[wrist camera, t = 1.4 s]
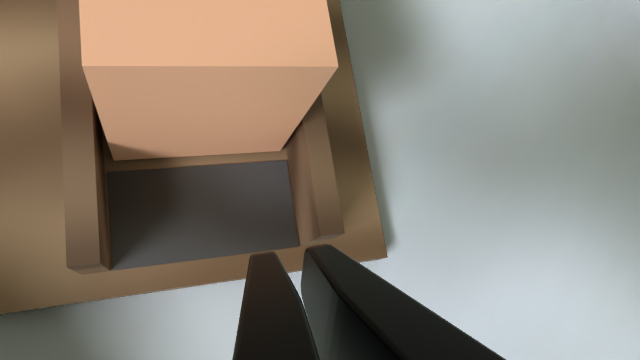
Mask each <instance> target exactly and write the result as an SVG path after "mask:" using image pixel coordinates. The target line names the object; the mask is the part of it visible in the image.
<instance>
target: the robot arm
mask: <svg viewBox="0 0 640 360" xmlns="http://www.w3.org/2000/svg"><path fill="white" fill-rule="evenodd" d="M301 294H302V299H303V303H304V306H303V303H302V300H301V298H300V296H299V294H298V292H297V290H296V288H295V286H294V285H293V283H292V281H291V279H290V277H289V276H288V274H287V272H286V270H285V268H284V266H283V265H282V263H281V261H280V259H279V257H278V255H277V254H276V253H275V252H273V251H268V252H260V253H253V254H252V255H251V256H250V258H249V264H248V270H247V276H246V282H245V288H244V294H243V300H242V306H241V312H240V318H239V324H238V330H237V336H236V342H235V348H234V354H233V360H506V359H504V358H503V357H501V356H500V355H498V354H497V353H495V352H494V351H492V350H491V349H489V348H487V347H486V346H484V345H483V344H481V343H480V342H478V341H477V340H475V339H474V338H472V337H471V336H469V335H468V334H466V333H465V332H463V331H462V330H460V329H459V328H457V327H456V326H454V325H452V324H451V323H449V322H448V321H446V320H445V319H443V318H442V317H440V316H439V315H437V314H436V313H434V312H433V311H431V310H430V309H428V308H427V307H425V306H424V305H422V304H421V303H419V302H418V301H416V300H414V299H413V298H411V297H410V296H408V295H407V294H405V293H404V292H402V291H401V290H399V289H398V288H396V287H395V286H393V285H392V284H390V283H389V282H387V281H386V280H384V279H383V278H381V277H379V276H378V275H376V274H375V273H373V272H372V271H370V270H369V269H367V268H366V267H364V266H363V265H361V264H360V263H358V262H357V261H355V260H354V259H352V258H351V257H349V256H348V255H346V254H345V253H343V252H341V251H340V250H338V249H337V248H335V247H334V246H332V245H330V244H322V245H315V246H309V247H308V248H306V250H305V252H304V259H303V268H302V278H301ZM304 307H305V309H304ZM305 310H306V312H305ZM306 314H307V315H306ZM308 321H309V322H308Z"/></svg>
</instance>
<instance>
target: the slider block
mask: <svg viewBox="0 0 640 360" xmlns="http://www.w3.org/2000/svg"><path fill="white" fill-rule="evenodd" d="M79 15H80V36H81V57H82V68H83V71H84V74H85V77H86V80H87V83H88V86H89V89H90V92H91V94H92V97H93V100H94V103H95V106H96V109H97V112H98V115H99V118H100V121H101V124H102V127H103V130H104V133H105V136H106V139H107V142H108V145H109V148H110V151H111V154H112V157H113V160H114V161H117V160H134V159H151V158H168V157H186V156H203V155H220V154H238V153H255V152H272V151H280V150H281V149H282V147H283V146H284V144H285V143H286V142H287V140H288V139H289V137H290V136H291V134H292V133H293V131H294V130H295V129H296V127H297V126H298V124H299V123H300V121H301V120H302V119H303V117H304V116H305V114H306V113H307V111H308V110H309V108H310V107H311V106H312V104H313V103H314V101H315V100H316V98H317V97H318V95H319V94H320V93H321V91H322V90H323V88H324V87H325V85H326V84H327V82H328V81H329V80H330V78H331V77H332V75H333V74H334V72H335V71H336V69H337V68H338V61H337V56H336V50H335V45H334V39H333V34H332V28H331V23H330V17H329V12H328V6H327V1H326V0H79Z"/></svg>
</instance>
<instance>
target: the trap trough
mask: <svg viewBox="0 0 640 360" xmlns="http://www.w3.org/2000/svg"><path fill="white" fill-rule="evenodd" d="M326 1H327V6H328V12H329V17H330V23H331V28H332V34H333V39H334V45H335V50H336V56H337V61H338V68H337V69H336V71H335V72H334V74H333V75H332V77H331V78H330V80H329V81H328V82H327V84H326V85H325V87H324V88H323V90H322V91H321V93H320V94H319V95H318V97H317V98H316V100H315V101H314V103H313V104H312V106H311V107H310V108H309V110H308V111H307V113H306V114H305V116H304V117H303V119H302V120H301V121H300V123H299V124H298V126H297V127H296V129H295V130H294V131H293V133H292V134H291V136H290V137H289V139H288V140H287V142H286V143H285V144H284V146H283V147H282V149H281V150H280V151H272V152H255V153H238V154H220V155H203V156H186V157H168V158H151V159H134V160H117V161H114V160H113V157H112V154H111V151H110V148H109V145H108V142H107V139H106V136H105V133H104V130H103V127H102V124H101V121H100V118H99V115H98V112H97V109H96V106H95V103H94V100H93V97H92V94H91V92H90V89H89V86H88V83H87V80H86V77H85V74H84V71H83V68H82V57H81V36H80V15H79V0H0V314H7V313H14V312H21V311H28V310H35V309H41V308H48V307H55V306H62V305H69V304H76V303H83V302H90V301H97V300H103V299H110V298H117V297H124V296H131V295H138V294H145V293H152V292H158V291H165V290H172V289H179V288H186V287H193V286H200V285H207V284H213V283H220V282H227V281H234V280H241V279H246V276H247V270H248V264H249V258H250V256H251V255H252V254H253V253H260V252H268V251H273V252H275V253H276V254H277V255H278V257H279V259H280V261H281V263H282V265H283V266H284V268H285V270H286V272H287V273H289V272H296V271H302V268H303V259H304V252H305V250H306V248H308V247H309V246H315V245H322V244H330V245H332V246H334V247H335V248H337V249H338V250H340V251H341V252H343V253H345V254H346V255H348V256H349V257H351V258H352V259H354V260H355V261H357V262H365V261H372V260H379V259H382V258H386V257H387V252H386V246H385V241H384V236H383V230H382V225H381V220H380V214H379V209H378V204H377V198H376V193H375V188H374V182H373V177H372V172H371V166H370V161H369V156H368V151H367V145H366V140H365V135H364V129H363V124H362V119H361V113H360V108H359V103H358V97H357V92H356V87H355V81H354V76H353V71H352V65H351V60H350V55H349V50H348V44H347V39H346V34H345V28H344V23H343V18H342V12H341V7H340V2H339V0H326Z"/></svg>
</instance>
